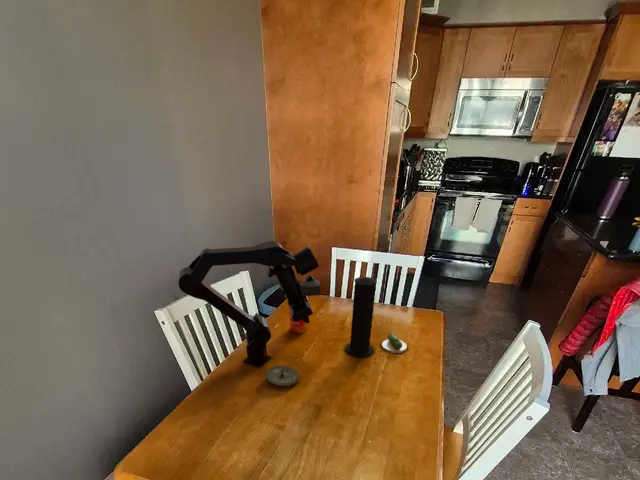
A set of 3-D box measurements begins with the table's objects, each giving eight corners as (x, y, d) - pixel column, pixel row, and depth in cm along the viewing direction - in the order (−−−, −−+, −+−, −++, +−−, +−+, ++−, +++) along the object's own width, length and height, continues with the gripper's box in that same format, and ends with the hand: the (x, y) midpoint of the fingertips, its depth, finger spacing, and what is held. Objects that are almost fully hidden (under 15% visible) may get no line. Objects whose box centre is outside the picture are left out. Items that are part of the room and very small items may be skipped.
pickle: (410, 351, 129) (412, 342, 127) (386, 354, 128) (387, 345, 126) (401, 339, 136) (402, 330, 134) (378, 341, 135) (379, 332, 133)
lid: (264, 378, 118) (259, 367, 114) (291, 364, 120) (287, 353, 116) (276, 397, 110) (272, 386, 107) (305, 382, 113) (301, 371, 109)
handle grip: (373, 358, 125) (373, 343, 134) (382, 284, 110) (381, 272, 118) (344, 356, 126) (346, 341, 134) (349, 282, 111) (350, 271, 119)
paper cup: (285, 327, 143) (283, 293, 135) (303, 323, 146) (302, 290, 137) (292, 336, 137) (291, 301, 129) (311, 332, 140) (311, 298, 132)
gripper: (318, 283, 103) (336, 326, 113) (307, 260, 118) (324, 300, 128) (282, 299, 104) (304, 341, 114) (276, 274, 119) (295, 313, 129)
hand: (308, 322), depth 121 cm, fingers closed
